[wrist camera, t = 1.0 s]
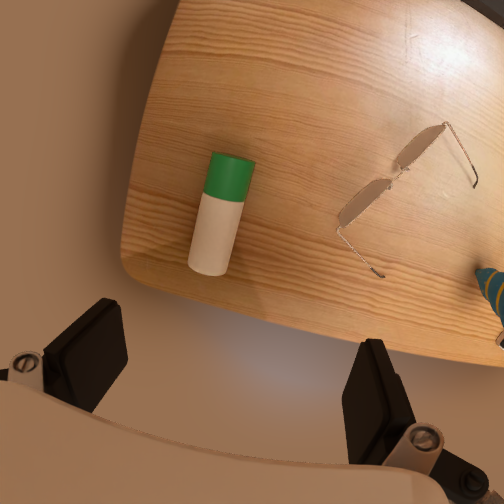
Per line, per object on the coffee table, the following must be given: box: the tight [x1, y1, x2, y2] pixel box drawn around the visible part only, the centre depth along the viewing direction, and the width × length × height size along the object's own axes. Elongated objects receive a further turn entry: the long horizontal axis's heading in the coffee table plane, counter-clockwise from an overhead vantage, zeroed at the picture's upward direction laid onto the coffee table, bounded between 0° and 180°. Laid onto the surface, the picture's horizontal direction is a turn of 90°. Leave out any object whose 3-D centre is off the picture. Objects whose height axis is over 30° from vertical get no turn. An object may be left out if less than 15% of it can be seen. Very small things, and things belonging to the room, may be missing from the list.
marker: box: [188, 152, 255, 276], centre depth 26 cm, size 10×4×4 cm, turn 165°
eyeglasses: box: [336, 121, 478, 278], centre depth 23 cm, size 14×8×4 cm, turn 136°
